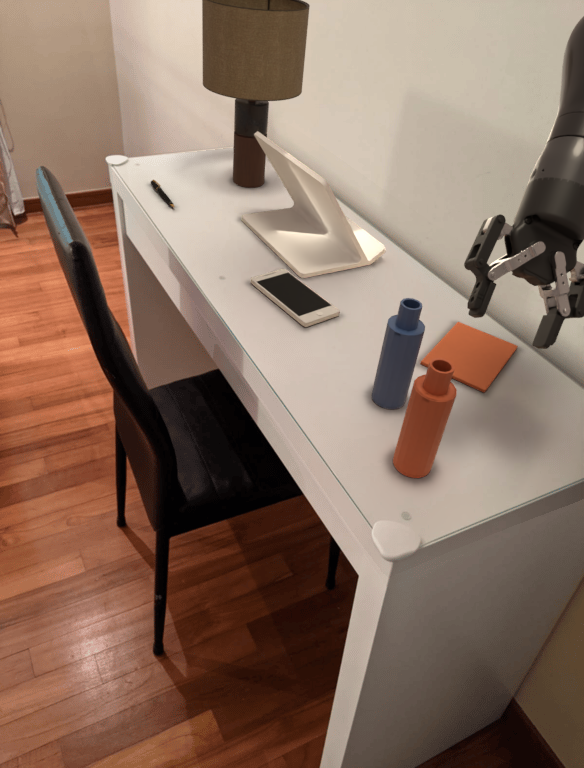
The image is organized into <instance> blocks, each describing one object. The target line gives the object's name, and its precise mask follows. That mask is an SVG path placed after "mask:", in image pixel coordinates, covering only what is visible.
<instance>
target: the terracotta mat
mask: <svg viewBox="0 0 584 768" xmlns="http://www.w3.org/2000/svg"><path fill="white" fill-rule="evenodd" d="M518 346H519V345H517V344H514V343H511V342H510V341H507V340H505V339H502V338H499V337H497V336H494V335H492V334H490V333H487V332H485V331H482V330H480V329H477V328H474V327H472V326H469V325H467V324H465V323H463V322H460V321H457V322H456V323H455V324H454V325H453V326H452V327H451V328H450V330H449V331H448V332H447V333H446V334H445V335H444V336H443V337H442V338H441V340H439V341H438V343H436V345H435V346H434V347H433V348H432V349H431V350H430V351H429V352H428V353H427V354H426V355H425V356H424V357H423V358H422V360H420V365H422V366H423V367H426V368H428V366H429V362H430V361H431V360H432V359H436V358H441V359H445V360H448V361H450V362H451V363H452V364H453V365H454V369H455V370H454V373H453V376H452V379H453V380H455V381H456V382H460V383H462V384H464V385H466V386H468V387H471V388H472V389H475V390H477V391H479V392H481V393H486V392H487V390H488V389H489V387H490V386H491V385H492V383H493V382H494V380H495V379H496V378H497V376H498V375H499V373H500V372H501V371H502V370H503V368H504V367H505V365H506V364H507V363H508V362H509V360H510V359H511V357H512V356H513V354H514V353H515V351H517V349H518Z"/></svg>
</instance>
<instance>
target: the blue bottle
mask: <svg viewBox="0 0 584 768" xmlns="http://www.w3.org/2000/svg"><path fill="white" fill-rule="evenodd" d="M399 302H400V303H399V307H398V311H397V314H394V315H391V316H390V317H389V318H388V319H387V323H386V327H385V332H384V336H383V341H382V344H381V349H380V355H379V359H378V363H377V368H376V372H375V377H374V382H373V386H372V389H371V399H372V401H373V403H375V405H377V406H378V407H380V408H383V409H387V410H398V409H400V408H402V407H403V406H404V405H405V403H406V400H407V397H408V394H409V391H410V387H411V382H412V379H413V375H414V372H415V368H416V364H417V361H418V356H419V353H420V349H421V345H422V343H423V338H424V335H425V331H426V325H425V323H424V322H423V321H422V320H420V317H421V315H422V314H421V313H422V310H423V303H422V302H421V301H420V300H418V299H416V298H413V297H405V298H402V299H401V300H400V301H399Z"/></svg>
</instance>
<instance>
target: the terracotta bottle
mask: <svg viewBox="0 0 584 768" xmlns="http://www.w3.org/2000/svg"><path fill="white" fill-rule="evenodd" d="M454 370H455V369H454V365H453V364H452V363H451V362H450V361H448V360H445V359H441V358H436V359H432V360H431V361H430V362H429V366H428V367H427V370H426V372H425V373H424V374H421V375H420V376H416V377H417V378H415V379H414V381H413V384H412V388H411V392H410V396H409V399H408V402H407V406H406V409H405V412H404V417H403V421H402V424H401V427H400V431H399V435H398V438H397V442H396V446H395V450H394V453H393V458H392V463H393V466H394V468H395V469H396V471H397V472H399V473H400V474H401V475H403V476H405V477H408V478H411V479H420V478H424V477H426V476H427V475H429V474H430V472H431V471H432V468H433V465H434V462H435V459H436V456H437V454H438V450H439V447H440V445H441V441H442V439H443V436H444V432H445V430H446V427H447V424H448V421H449V419H450V415H451V412H452V409H453V407H454V403H455V400H456V397H457V391H458V390H457V388H456V386H455V384H454V383H453V382H452V379H453V378H452V376H453V373H454Z"/></svg>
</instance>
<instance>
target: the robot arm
mask: <svg viewBox="0 0 584 768" xmlns="http://www.w3.org/2000/svg"><path fill="white" fill-rule="evenodd" d="M565 45H566V46H565V49H564V53H563V59H562V65H561V81H560V84H561V85H560V93H559V100H558V108H557V114H556V117H555V119H554V122H553V125H552V127H551V130H550V133H549V135H548V138H547V140H546V142H545V145H544V148H543V149H542V151H541V153H540V154H539V157H538V159H537V160H536V162H535V165H534V166H533V169H532V171H531V173H530V175H529V180H528V182H527V185H526V187H525V190H524V192H523V195H522V197H521V200H520V202H519V205H518V207H517V210H516V213H515V214H514V215H515V216H514V218H513V224H512V225H511V224H509V223H507V222H506V221H507V220H506V217H505V215H503V214H502V213H501V214H497V215H494V216H492V217H489V218H485V219H484V220H483V221H482V222H481V223H482V224H481V226H480V228H479V230H478V232H477V234H476V236H475V239H474V241H473V243H472V246H471V247H470V250H469V252H468V254H467V256H466V258H465V261H464V264H463V266H464V269H465V270H466V271H470V272H471V273H472V274H473V275H474V277H475V283H474V285H473V288H472V291H471V293H470V296H469V298H468V301H467V309H468V314H467V315H468V316H470V317H472V318H474V319H479V318H483V317H484V316H485V314H486V313H487V310H488V307H489V305H490V302H491V300H492V297H493V294H494V292H495V289H496V287H497V283H495V281H497V280H499V279H500V278H501V277H503V276H504V275H506V274H508V273H510V272H511V276H514V277H516V278H518V279H524V280H525V281H526V282H527V283H528V284H530V285H531V286H533V287H537V288H538V294H539V296H540V298H542V299H543V304H544V309H545V313H546V314H543V315H542V317H541V321H540V322H539V325H538V328H537V330H536V333H535V335H534V338H533V341H532V347H534V348H536V349H541V350H547V349H549V348H551V346H554V344H555V343H556V342H557V339H558V337H559V334H560V331H561V328H562V326H563V324H564V322H565V320H567V319H582V318H584V263H583V262H581V261H578V258H577V257H578V249H579V247H580V246H581V245H582V243H583V242H584V15H583V16H582V17H581V18H580V19H579V21H578V22H577V23H576V24H575V26H574V28H573V29H572V30H571V32H570V35H569V36H568V40H567V41H566V44H565ZM502 239H503V240H504V241H503V242H504V246H505V252H506V253H505V254H504V255H502V256H501V257H499V258H498V259H495V260H494V261H493V262H491V263H490V264H489V263H488V261H489V259H490V258H491V255H492V253H493V251H494V248H495V246H496V245H497V242H498V241H500V240H502ZM569 272H570V276H569V277H568V273H569ZM569 281H570V283H569ZM553 283H554V286H555V287H552V285H551V284H553Z"/></svg>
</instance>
